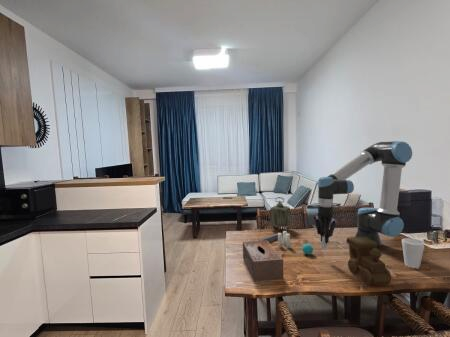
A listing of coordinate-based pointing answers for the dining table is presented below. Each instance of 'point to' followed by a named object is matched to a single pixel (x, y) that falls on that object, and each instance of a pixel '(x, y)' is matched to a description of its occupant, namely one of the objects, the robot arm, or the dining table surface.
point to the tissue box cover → (262, 260)
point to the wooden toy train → (367, 261)
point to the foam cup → (412, 252)
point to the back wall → (270, 238)
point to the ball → (307, 249)
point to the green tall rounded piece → (280, 215)
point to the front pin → (287, 240)
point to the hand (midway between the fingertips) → (324, 247)
